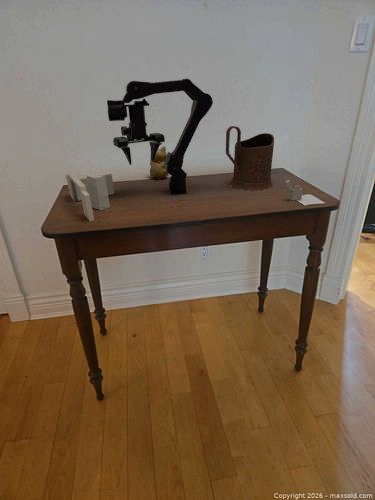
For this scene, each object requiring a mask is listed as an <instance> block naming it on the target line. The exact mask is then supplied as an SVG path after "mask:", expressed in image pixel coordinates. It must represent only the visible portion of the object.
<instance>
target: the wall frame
mask: <svg viewBox="0 0 375 500" xmlns="http://www.w3.org/2000/svg"><path fill="white" fill-rule="evenodd" d="M65 178H66V179H65V180H66V181H67V182H66V183H67V187H68V192H69V196H70V198H71V199H72V201H73V202H76V201H75V198H74V193H73V188H72V184H71V180H72V181H73V183H74V184H75V185H76V186H77V187H78V188H79V190H80V195H81V200H80V201H81V203H82V210H83V215H84V216H85V217H86V218H87V220H88V221H89V222H93V221H95V216H94V211H93V207H92V204H91V198H90V195H89V194H88V193H87V192H86V187H85V185H84V184H83V183H82V182H81V181H80V180H79V179H80V178H78V177H77V176H76V175H75V174H74V173H73V172H67V173H65Z"/></svg>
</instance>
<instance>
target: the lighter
mask: <svg viewBox="0 0 375 500" xmlns="http://www.w3.org/2000/svg"><path fill="white" fill-rule="evenodd" d="M284 184H285V187H286V189H287V191H288V192H289V193H290V194H289V199H290V201H292V200H296V201H300V200H299V199H301V200H302V199H303V198H302V197H303V191H304V189H303V188H302V187H301V185H294V186H292V183H291V180H290V179H289V178H288V179H286V180H285V181H284ZM292 202H293V201H292Z"/></svg>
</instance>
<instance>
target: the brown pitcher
mask: <svg viewBox="0 0 375 500" xmlns="http://www.w3.org/2000/svg"><path fill="white" fill-rule="evenodd" d="M232 129H235V130H236V132H237V135H236V137H237V138H236V142H235V143H234V153H233V155H234V158H233V156H232V155H231V154H230V138H231V137H230V136H231V135H230V134H231V131H232ZM241 130H242V129H241V128H240V127H239V126H236V125H230V126H229V127H227V129H226V131H225V132H226V133H225V155H226V156H227V157H228V159H229V160H230V161H231V162H232V164H233V177H232V180H231V181H230V183H231V185H232V186H233V187H232V186H231V185H230V186H231V187H232V188H234V187H235V188H234V189H236V188H238V189H237V190H240V189H243V190H242V191H248V190H249V191H250V192H253V191H257V190H259V191H265V190H264V189H266V190H268V188H269V189H271V188H273V186H274V185H273V182H272V177H271V175H272V166H273V154H274V147H275V137H274V135H273V134H272V133H266V132H264V133H259V134H257V135H254V136H251V137H250V138H248V139H244V140H242V138H241V137H242V136H241V135H242V131H241ZM272 185H273V186H272ZM270 187H271V188H270Z"/></svg>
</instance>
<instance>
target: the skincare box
mask: <svg viewBox="0 0 375 500" xmlns="http://www.w3.org/2000/svg"><path fill="white" fill-rule="evenodd" d="M103 175H104V174H99V173H92V174H88V175H86V178H87V182H88V187H89V193H90V200H91V205H92V209H93V208H94V209H96V210H99V211H104V210H107V209H109V208H111V206H110V200H109V195H108V191H107V185H106V179H105V176H103Z"/></svg>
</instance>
